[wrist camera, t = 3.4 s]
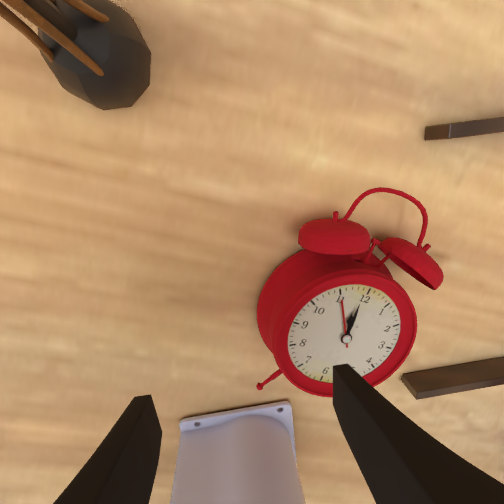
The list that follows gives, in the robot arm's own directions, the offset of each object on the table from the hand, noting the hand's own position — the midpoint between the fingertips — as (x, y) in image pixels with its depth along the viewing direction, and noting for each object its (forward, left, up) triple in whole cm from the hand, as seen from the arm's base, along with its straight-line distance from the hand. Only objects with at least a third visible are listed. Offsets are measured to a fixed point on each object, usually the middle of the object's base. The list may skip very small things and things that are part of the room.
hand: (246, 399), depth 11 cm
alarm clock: (+7, -1, -10) cm, 12 cm away
